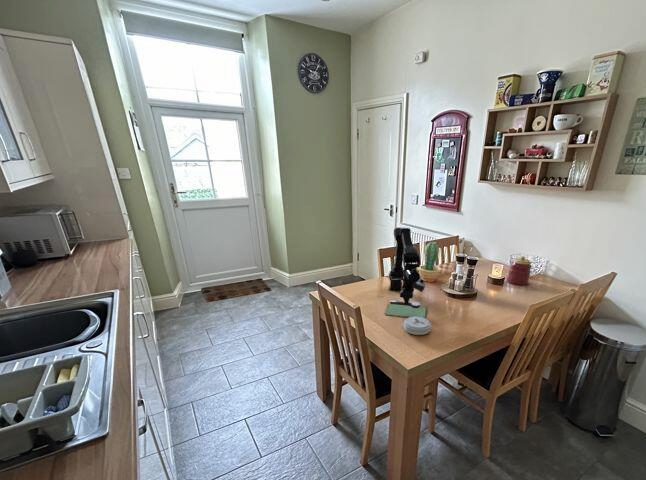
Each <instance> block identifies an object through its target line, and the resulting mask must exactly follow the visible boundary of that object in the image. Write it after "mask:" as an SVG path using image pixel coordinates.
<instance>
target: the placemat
mask: <svg viewBox="0 0 646 480" xmlns="http://www.w3.org/2000/svg"><path fill="white" fill-rule="evenodd" d="M426 312H427V306H420V308H412V307H411V306H404V305H395V304H390V303H388V307H387V310H386V312H385V316H392V317H393V316H394V317H402V318H409V317H414V316H417V317H423V318H425V319H426V314H427V313H426Z"/></svg>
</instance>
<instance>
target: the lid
mask: <svg viewBox="0 0 646 480" xmlns="http://www.w3.org/2000/svg"><path fill="white" fill-rule="evenodd" d="M431 327H432V323H431V321H430V320H429V319H427V318H426V317H425V318H423V317H417V316H414V317H406V318H405V319H404V321H403V330H404V331H405V332H407V333H409V334H411V335H416V336H424V335H427V334H429V333H430V332H431Z"/></svg>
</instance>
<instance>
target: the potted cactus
mask: <svg viewBox="0 0 646 480" xmlns="http://www.w3.org/2000/svg"><path fill="white" fill-rule="evenodd" d="M439 252H440V247H439V246H438V243H437V242H436V241H429V242H428V244H427V245H426V246H425V253H424V254H425V261H424V264H420V267H417V271H419V274H420V277H421V279H423V280H424V282H428V283H431V282H435V281H436V278H437V277H438V276H439V274H440V273H441V272H442V268H441V266H438V265H435V264H436V261H437V259H438V257H439Z"/></svg>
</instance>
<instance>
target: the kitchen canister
mask: <svg viewBox="0 0 646 480" xmlns="http://www.w3.org/2000/svg"><path fill="white" fill-rule="evenodd" d="M532 268H533V266H532V261H530V259H528V258H526V257H525V256H524V255H522V256H520V257H515V258H513V259H512V262H510V267H509V270H508V275H507V278H506V279H507V282H508V283H509V284H513V285H517V286H526V285H528V283H529V280H530V275H531V273H532V272H531V271H532V270H531V269H532Z"/></svg>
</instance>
